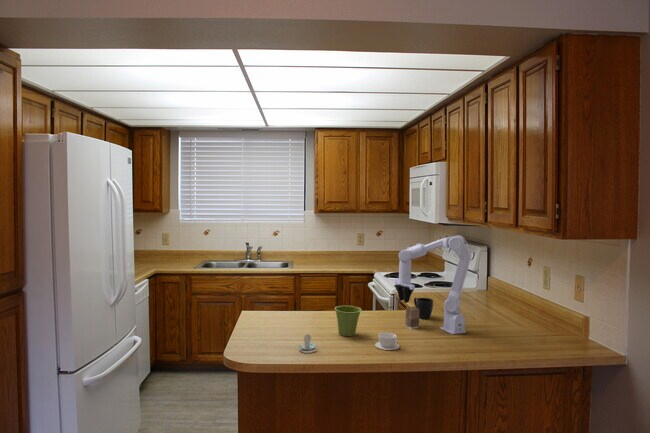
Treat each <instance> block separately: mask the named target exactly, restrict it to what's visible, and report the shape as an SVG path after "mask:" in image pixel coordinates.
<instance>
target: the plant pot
mask: <svg viewBox="0 0 650 433" xmlns="http://www.w3.org/2000/svg"><path fill="white" fill-rule="evenodd" d="M334 311H335V314H336V318H337V320H336V322H337V329H338V334H339V335H341V336H344V337H345V336H346V337H352V336H355V335H356V331H357V326H358V322H359V317H360V314H361V312H362V308H361V307H357V306H355V305H354V306H353V305H339V306H335V307H334Z"/></svg>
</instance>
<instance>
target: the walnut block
mask: <svg viewBox="0 0 650 433" xmlns="http://www.w3.org/2000/svg"><path fill="white" fill-rule="evenodd" d="M405 327H407V328H409V329H410V330H412V329H413V330H414V329H419V328H420V318H419V309H418V308H416V307H415V306H405Z"/></svg>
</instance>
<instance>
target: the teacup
mask: <svg viewBox="0 0 650 433" xmlns="http://www.w3.org/2000/svg"><path fill="white" fill-rule="evenodd" d="M374 346H375V348H378V349H381V350H386V351H395V350H399V348H400V345H399V341H398V340H397V335H396V334H395V333H392V332H379V333H378V342H375V344H374Z"/></svg>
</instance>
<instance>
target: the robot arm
mask: <svg viewBox="0 0 650 433" xmlns="http://www.w3.org/2000/svg"><path fill="white" fill-rule="evenodd" d="M442 247H443V248H447V249H448V248H449V249H451V250H452V251H453V252H455V254H456V256H457V257H458V263H457V266H456V271H455V274H454V277H453V280H452V283H451V284H452V285H451V286H450V291H449V293H448V297H447V299H446V300H445V301H444V302H443V306H444V309H443V311H444V312H443V326H440V327H439V329H440V330H442V331H444V332H447V333H449V334H451V335H458V334H466V333H467V331H466V330H465V329H466V317H465V316H464V315H463V314H462V313H461V309H460V308H459V307H460V306H461V305H462V300H461V296H462V290H463V287H464V283H465V280H466V276H467V273H468V270H469V266H470V263H471V259H472V254H471V253H472V252H471V250H470V247H469V244H468V240H466V239H465V237H464V236H462V235H460V234H458V235H454V236H449V237H448V236H447V237H444V238H440V239H438V240H435V241H432V242H430V243H427V244H424V243H420V242H419V243H415V245H413V246H407V247H406V249H402V250H400V251H399V252H398V255H397V257H398V259H399V264H398V268H399V269H398V279H394V284H395V286H394V288H395V289H396V292H397V296H398V300H399V302H400V301H401V302H402V301H403V302H404V303H405V304H406V303H409V302H410V300H411V295H412V294H413V292H414V291H415V289H416V286H415V284H414V283H411V282H412V281H411V280H412V279H411V278H412V260H413V259H414V260H416V259H417V258H420V257H423V256H426V255H427V253H428V252H429V251H432V250H436V249H439V248H442Z"/></svg>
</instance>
